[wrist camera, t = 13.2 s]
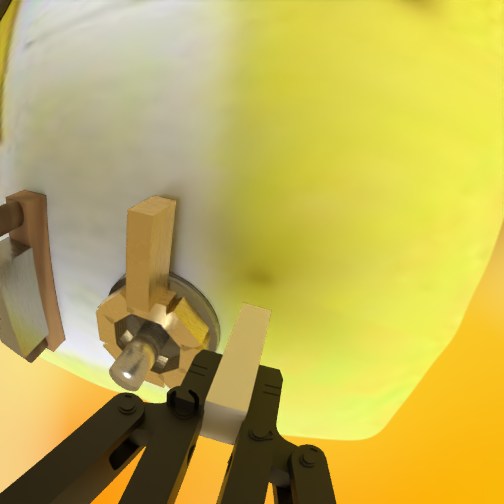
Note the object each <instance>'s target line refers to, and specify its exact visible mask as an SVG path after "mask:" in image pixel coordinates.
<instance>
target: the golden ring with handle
mask: <svg viewBox="0 0 504 504" xmlns="http://www.w3.org/2000/svg"><path fill="white" fill-rule="evenodd" d="M175 209H176V201H174V200H170V199H166V198H162V197H157V196H153V197H151V198H149V199H147V200H145V201H143V202H141V203H139V204H137V205H136V206H134V207H132V208H130V209H128V215H127V240H126V285H124V286H123V287H121V288H120V289H118V290H117V291H115V292H113V293H112V294H111V295H110V296H109V297H108V298H107V299H106V300H105V301H103V302H102V303H101V304H100V305H99V306H98V308H99V309H98V310H97V311H96V315H97V323H98V330H99V337H100V340H101V341H103V342H105V343H104V345H103V346H104V347H105V348H106V350H107V351H108V352H109V353H110V354H111V355H112V356H113V357H114V359H115V360H117V358H118V357H119V355H120V354H121V353H122V351H123V350H124V349H125V347H126V346H127V345H128V343H129V342H130V341H131V339H132V338H133V336H132V335H131V334H130V332H129V331H128V330H127V316H128V315H130V314H134V315H137V316H139V317H142V318H145V319H148V320H150V321H153V322H156V323H159V324H161V326H162V327H163V328H164V329H165V330H166V332H167V333H168V334H169V335H170V336H171V337H172V339H173V340H174V341H175V342H176V343H177V344H178V346H179V347H180V348H181V349H180V355H177V356H174V357H171V358H166V357H163V356H160V355H159V356H158V358H157V359H156V361H155V363H154V364H153V366H152V368H151V369H150V371H149V373H148V374H147V376H146V378H145V379H144V380H145V381H147V382H150V383H153V384H155V385H158V386H160V387H163V388H164V387H165V385H167V386H168V387H169V388H173V387H176V386H180V385H181V383H182V381H183V379H184V377H185V375H186V373H187V371H188V369H189V367H190V365H191V363H192V361H193V359H194V357H195V355H196V354H197V353H199V352H200V351H201V350H203V349H205V350H208V351H209V345H210V339H211V334H209V333H207V332H208V330H209V327H208V326H207V325H206V323H205V322H204V321H203V320H202V318H201V317H200V316H199V315H198V313H197V312H196V311H195V309H194V308H193V307H192V306H191V304H190V303H189V302H188V300H187V299H186V298H185V297H184V296H183V297H181V298H179V299H177V291H175V290H172V289H169V288H168V279H169V266H170V255H171V244H172V235H173V226H174V217H175Z"/></svg>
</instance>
